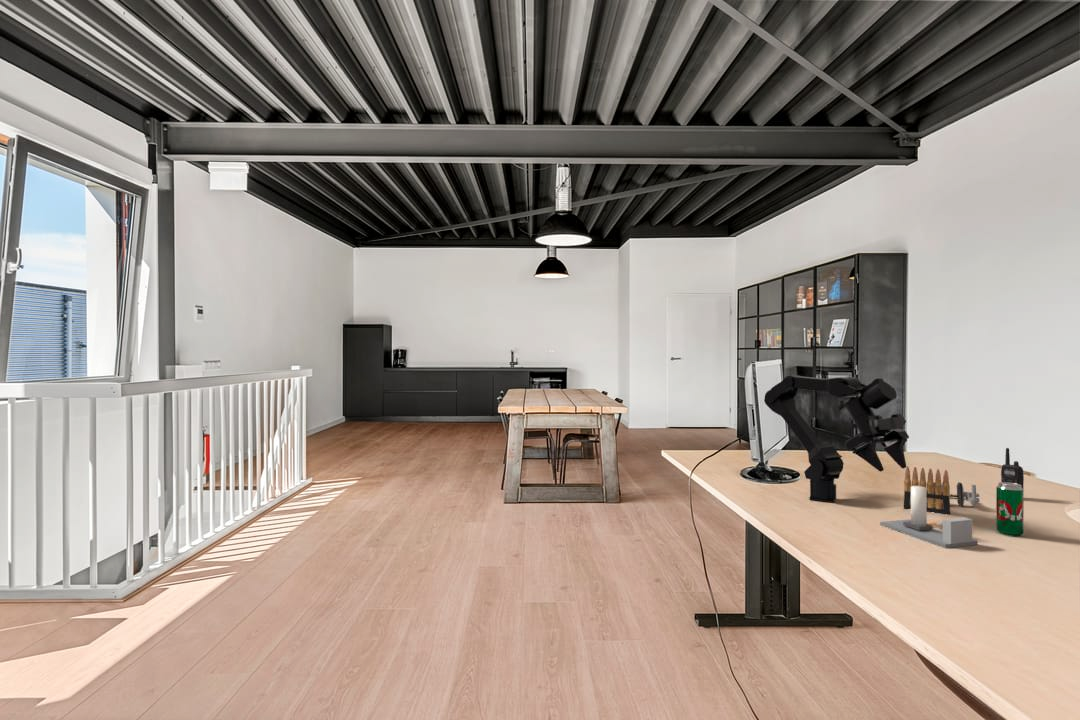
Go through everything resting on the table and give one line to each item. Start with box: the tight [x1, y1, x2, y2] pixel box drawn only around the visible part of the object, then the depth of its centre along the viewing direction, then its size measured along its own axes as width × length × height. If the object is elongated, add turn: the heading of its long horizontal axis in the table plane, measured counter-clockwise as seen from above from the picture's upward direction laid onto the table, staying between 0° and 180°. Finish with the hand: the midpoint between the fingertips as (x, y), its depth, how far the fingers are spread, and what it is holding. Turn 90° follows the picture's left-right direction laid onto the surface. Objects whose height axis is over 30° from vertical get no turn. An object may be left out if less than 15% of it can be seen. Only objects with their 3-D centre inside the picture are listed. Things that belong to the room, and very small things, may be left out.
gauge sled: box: [903, 485, 937, 530], centre depth 140 cm, size 4×7×10 cm, turn 103°
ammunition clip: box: [903, 465, 951, 516], centre depth 157 cm, size 11×2×12 cm, turn 53°
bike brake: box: [934, 482, 980, 508], centre depth 168 cm, size 14×7×20 cm
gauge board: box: [879, 516, 978, 549], centre depth 137 cm, size 18×9×6 cm, turn 13°
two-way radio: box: [1000, 447, 1025, 490], centre depth 171 cm, size 6×4×15 cm
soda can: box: [995, 481, 1025, 537], centre depth 137 cm, size 5×5×12 cm
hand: (893, 469), depth 151 cm, fingers open, 9 cm apart
